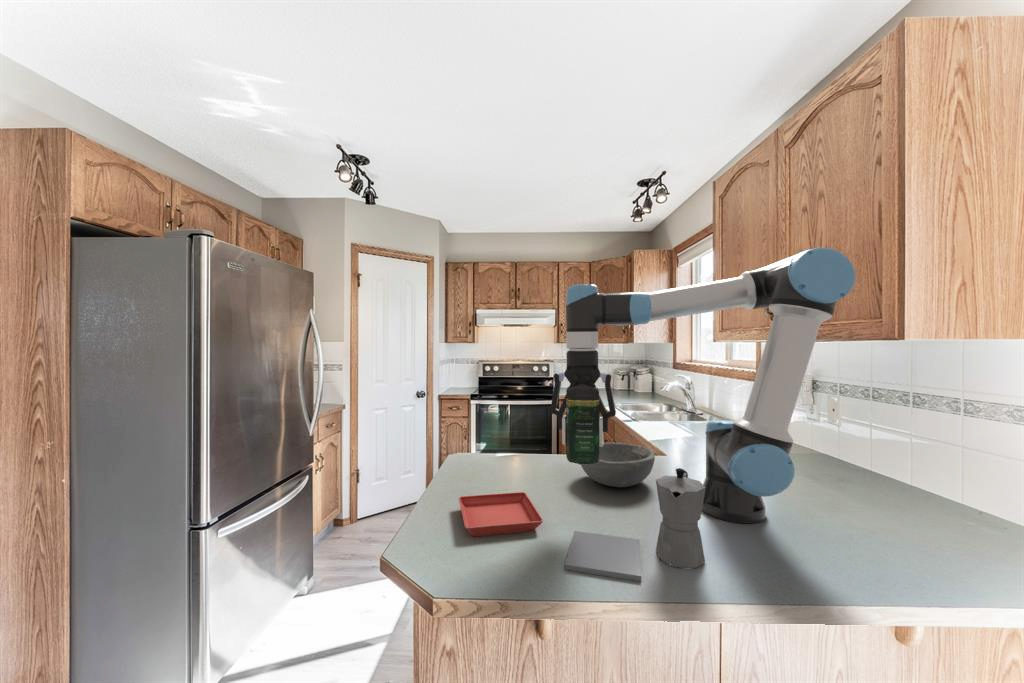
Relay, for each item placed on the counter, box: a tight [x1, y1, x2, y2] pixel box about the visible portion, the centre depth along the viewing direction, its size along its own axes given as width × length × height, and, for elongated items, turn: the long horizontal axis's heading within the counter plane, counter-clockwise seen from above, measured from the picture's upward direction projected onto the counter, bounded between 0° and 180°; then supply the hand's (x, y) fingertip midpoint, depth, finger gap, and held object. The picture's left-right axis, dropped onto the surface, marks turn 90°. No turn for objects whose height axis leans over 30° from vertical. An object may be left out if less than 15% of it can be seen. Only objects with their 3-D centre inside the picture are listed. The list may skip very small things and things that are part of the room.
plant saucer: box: [458, 491, 544, 537], centre depth 99 cm, size 18×18×3 cm
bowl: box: [580, 442, 656, 488], centre depth 125 cm, size 23×22×10 cm
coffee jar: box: [565, 384, 601, 466], centre depth 97 cm, size 10×8×19 cm
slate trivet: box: [564, 530, 642, 582], centre depth 83 cm, size 14×14×1 cm
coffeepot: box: [655, 467, 706, 569], centre depth 83 cm, size 15×9×18 cm, turn 151°
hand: (582, 444), depth 98 cm, fingers closed on coffee jar, 8 cm apart
